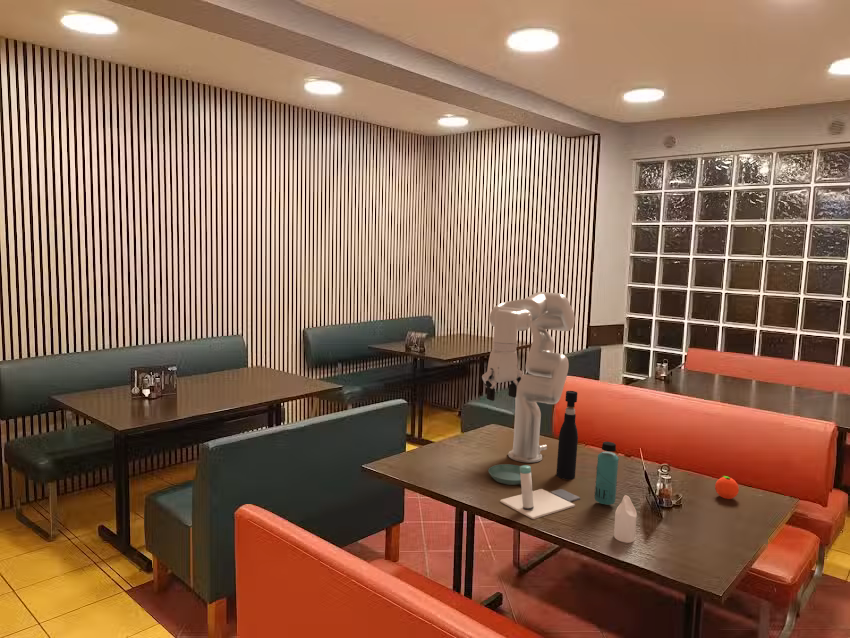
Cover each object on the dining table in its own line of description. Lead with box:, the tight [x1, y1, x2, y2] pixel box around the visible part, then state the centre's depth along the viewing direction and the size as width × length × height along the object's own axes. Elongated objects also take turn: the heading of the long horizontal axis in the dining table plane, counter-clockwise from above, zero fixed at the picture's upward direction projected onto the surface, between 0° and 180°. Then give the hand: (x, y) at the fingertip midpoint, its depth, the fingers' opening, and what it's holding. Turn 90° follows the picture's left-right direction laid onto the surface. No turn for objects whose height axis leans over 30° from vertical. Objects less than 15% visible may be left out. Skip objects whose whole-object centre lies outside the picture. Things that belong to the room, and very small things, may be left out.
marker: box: [519, 464, 534, 510], centre depth 181 cm, size 3×3×12 cm
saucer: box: [488, 463, 533, 486], centre depth 207 cm, size 15×15×3 cm
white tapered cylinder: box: [613, 494, 638, 544], centre depth 166 cm, size 6×12×6 cm
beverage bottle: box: [593, 441, 620, 506], centre depth 187 cm, size 6×7×20 cm
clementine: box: [714, 475, 740, 500], centre depth 198 cm, size 8×7×7 cm
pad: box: [499, 488, 576, 520], centre depth 187 cm, size 18×14×1 cm
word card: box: [550, 488, 581, 503], centre depth 194 cm, size 5×8×1 cm, turn 35°
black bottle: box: [556, 390, 579, 481], centre depth 210 cm, size 6×6×30 cm
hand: (501, 398), depth 202 cm, fingers open, 9 cm apart
